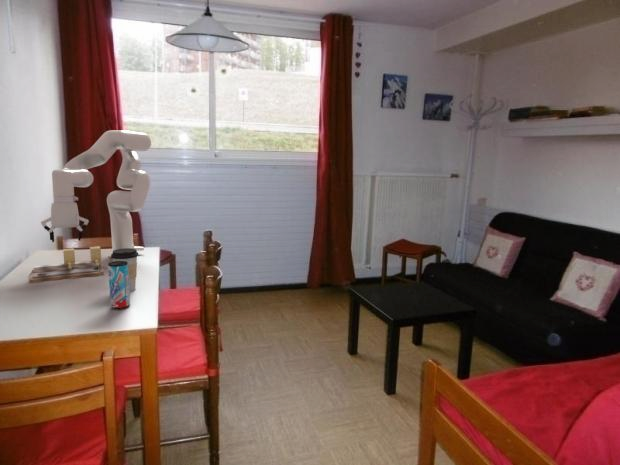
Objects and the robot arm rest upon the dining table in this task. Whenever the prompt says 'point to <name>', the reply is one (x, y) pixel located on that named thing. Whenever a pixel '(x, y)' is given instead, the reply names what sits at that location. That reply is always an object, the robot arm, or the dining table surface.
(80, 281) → the dining table surface
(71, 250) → the block
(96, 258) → the fixed leg
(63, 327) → the dining table surface
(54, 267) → the board
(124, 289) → the beverage can
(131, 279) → the coffee cup
